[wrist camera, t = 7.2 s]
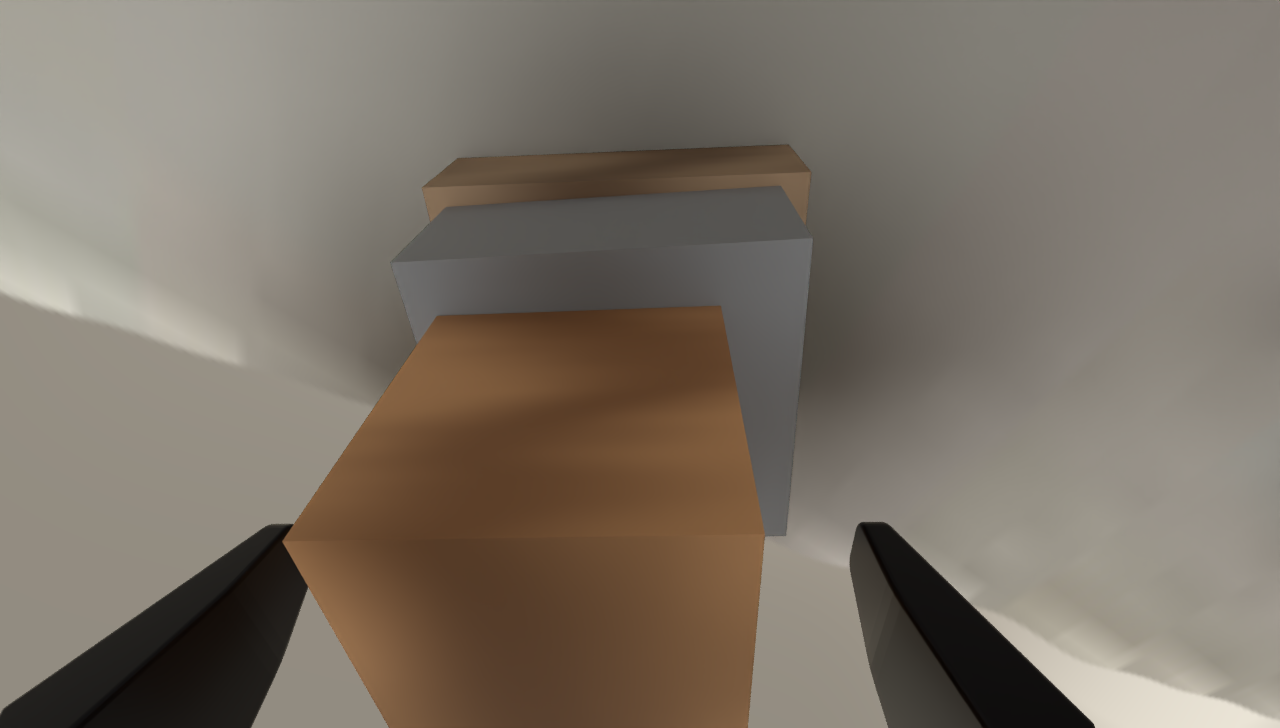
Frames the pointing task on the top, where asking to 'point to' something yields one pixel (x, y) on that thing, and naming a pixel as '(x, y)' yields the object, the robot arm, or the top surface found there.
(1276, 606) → the top surface
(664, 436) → the orange cube
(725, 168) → the tower base
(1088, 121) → the top surface
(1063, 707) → the robot arm
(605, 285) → the tower top
